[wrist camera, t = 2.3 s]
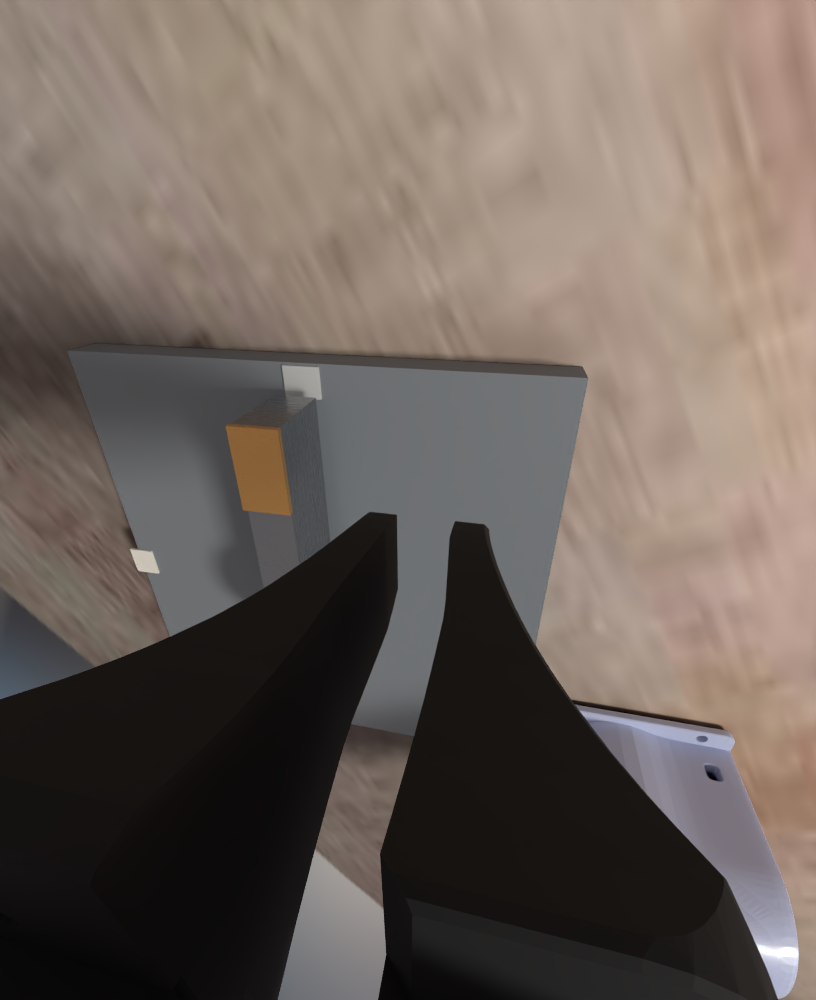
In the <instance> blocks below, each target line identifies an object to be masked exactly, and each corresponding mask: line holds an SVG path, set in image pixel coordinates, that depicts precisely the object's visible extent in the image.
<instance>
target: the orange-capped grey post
mask: <svg viewBox="0 0 816 1000" xmlns="http://www.w3.org/2000/svg"><path fill="white" fill-rule="evenodd" d="M226 431H227V436H228V441H229V446H230V450H231V455H232V460H233V465H234V469H235V474H236V479H237V484H238V489H239V493H240V498H241V503H242V508H243V510H245V511H248V513H249V518H250V523H251V528H252V533H253V538H254V542H255V547H256V552H257V557H258V562H259V567H260V572H261V577H262V582H263V587H264V588H265V587H266V586H268V585H270V584H271V583H273V582H274V581H276V580H277V579H279V578H280V577H282V576H283V575H285V574H286V573H288V572H289V571H291V570H292V569H293V568H295V567H296V566H298V565H299V564H301V563H302V562H304V561H305V560H307V559H308V558H310V557H311V556H312V555H314V554H315V553H316V552H318V551H319V550H320V549H322V548H323V547H324V546H326V545H327V544H328V543H330V533H329V523H328V513H327V503H326V493H325V484H324V474H323V464H322V454H321V444H320V434H319V425H318V415H317V405H316V398H312V397H296V396H281V395H273V396H272V397H270V398H269V399H267V400H266V401H264V402H263V403H261V404H260V405H258V406H257V407H255V408H254V409H252V410H251V411H249V412H248V413H246V414H245V415H243V416H242V417H240V418H238V419H237V420H235V421H234V422H232V423H231V424H228V425H226Z"/></svg>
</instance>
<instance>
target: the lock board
mask: <svg viewBox="0 0 816 1000" xmlns="http://www.w3.org/2000/svg"><path fill="white" fill-rule="evenodd" d="M67 353H68V355H69V358H70V361H71V364H72V367H73V369H74V372H75V375H76V378H77V380H78V383H79V386H80V389H81V391H82V394H83V397H84V400H85V403H86V405H87V408H88V411H89V414H90V416H91V419H92V422H93V425H94V428H95V430H96V433H97V436H98V439H99V441H100V444H101V447H102V450H103V452H104V455H105V458H106V461H107V464H108V466H109V469H110V472H111V475H112V477H113V480H114V483H115V486H116V488H117V491H118V494H119V497H120V500H121V502H122V505H123V508H124V511H125V513H126V516H127V519H128V522H129V524H130V527H131V530H132V533H133V536H134V538H135V541H136V544H137V547H138V549H136V548H131V549H130V550H131V553H132V556H133V558H134V561H135V564H136V566H137V569H138V571H143V572H147V574H148V577H149V580H150V583H151V585H152V588H153V591H154V594H155V597H156V599H157V602H158V605H159V608H160V610H161V613H162V616H163V619H164V621H165V624H166V627H167V630H168V633H169V635H170V636H173V635H175V634H177V633H179V632H181V631H183V630H185V629H188V628H190V627H192V626H194V625H196V624H198V623H200V622H202V621H205V620H207V619H209V618H211V617H213V616H215V615H217V614H219V613H221V612H223V611H224V610H226V609H228V608H230V607H232V606H233V605H235V604H237V603H239V602H241V601H243V600H244V599H246V598H248V597H250V596H251V595H253V594H255V593H256V592H258V591H260V590H261V589H263V588H264V587H263V582H262V577H261V572H260V567H259V562H258V557H257V552H256V547H255V542H254V538H253V533H252V528H251V523H250V518H249V513H248V511H245V510H243V508H242V503H241V498H240V493H239V489H238V484H237V479H236V474H235V469H234V465H233V460H232V455H231V450H230V446H229V441H228V436H227V431H226V425H228V424H231V423H232V422H234V421H235V420H237V419H238V418H240V417H242V416H243V415H245V414H246V413H248V412H249V411H251V410H252V409H254V408H255V407H257V406H258V405H260V404H261V403H263V402H264V401H266V400H267V399H269V398H270V397H272V396H273V395H281V396H296V397H312V398H316V405H317V415H318V425H319V434H320V444H321V454H322V464H323V474H324V484H325V493H326V503H327V513H328V523H329V533H330V542H331V541H332V540H334V539H335V538H336V537H337V536H339V535H340V534H341V533H343V532H344V531H345V530H346V529H348V528H349V527H350V526H352V525H353V524H354V523H355V522H357V521H358V520H359V519H361V518H362V517H363V516H364V515H366V514H367V513H369V512H377V513H386V514H396V515H397V550H398V591H397V595H396V599H395V603H394V607H393V611H392V615H391V619H390V623H389V627H388V630H387V633H386V635H385V638H384V641H383V643H382V646H381V648H380V651H379V654H378V656H377V659H376V661H375V664H374V666H373V669H372V672H371V674H370V677H369V679H368V682H367V684H366V687H365V689H364V692H363V694H362V697H361V700H360V702H359V705H358V707H357V710H356V712H355V715H354V717H353V720H352V723H351V724H352V725H357V726H362V727H368V728H373V729H378V730H383V731H388V732H393V733H399V734H404V735H409V736H414V735H415V731H416V727H417V723H418V720H419V716H420V712H421V708H422V705H423V701H424V697H425V693H426V689H427V685H428V681H429V677H430V673H431V669H432V665H433V660H434V656H435V652H436V648H437V643H438V639H439V635H440V630H441V626H442V622H443V616H444V609H445V601H446V586H447V570H448V554H449V539H450V534H451V531H452V528H453V525H454V523H455V521H459V522H469V523H478V524H485V525H486V527H487V528H488V529H489V535H490V541H491V545H492V549H493V553H494V556H495V559H496V562H497V565H498V568H499V571H500V573H501V576H502V578H503V581H504V583H505V585H506V588H507V590H508V593H509V595H510V597H511V599H512V602H513V604H514V606H515V608H516V610H517V612H518V614H519V616H520V618H521V620H522V622H523V624H524V626H525V627H526V629H527V631H528V633H529V635H530V637H531V638H532V640H533V642H534V644H535V645H536V640H537V635H538V629H539V624H540V619H541V614H542V609H543V604H544V599H545V594H546V589H547V584H548V579H549V574H550V569H551V564H552V559H553V554H554V549H555V544H556V539H557V533H558V528H559V523H560V518H561V513H562V508H563V503H564V498H565V493H566V488H567V483H568V478H569V473H570V468H571V463H572V458H573V453H574V448H575V443H576V437H577V432H578V427H579V422H580V417H581V412H582V407H583V402H584V397H585V392H586V387H587V382H588V377H587V375H586V373H585V371H584V369H583V367H574V366H554V365H533V364H513V363H492V362H472V361H451V360H430V359H410V358H389V357H369V356H348V355H328V354H307V353H287V352H266V351H246V350H225V349H205V348H184V347H163V346H143V345H122V344H102V343H95V344H91V345H87V346H83V347H79V348H75V349H71V350H67Z"/></svg>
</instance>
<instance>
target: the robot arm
mask: <svg viewBox="0 0 816 1000" xmlns="http://www.w3.org/2000/svg"><path fill="white" fill-rule="evenodd" d="M397 591H398V550H397V515H396V514H386V513H377V512H369V513H367V514H366V515H364V516H363V517H362V518H361V519H359V520H358V521H357V522H355V523H354V524H353V525H352V526H350V527H349V528H348V529H346V530H345V531H344V532H343V533H341V534H340V535H339V536H337V537H336V538H335V539H334V540H332V541H331V542H330V543H328V544H327V545H326V546H324V547H323V548H322V549H320V550H319V551H318V552H316V553H315V554H314V555H312V556H311V557H310V558H308V559H307V560H305V561H304V562H302V563H301V564H299V565H298V566H296V567H295V568H293V569H292V570H291V571H289V572H288V573H286V574H285V575H283V576H282V577H280V578H279V579H277V580H276V581H274V582H273V583H271V584H270V585H268V586H266V587H265V588H263V589H261V590H260V591H258V592H256V593H255V594H253V595H251V596H250V597H248V598H246V599H244V600H243V601H241V602H239V603H237V604H235V605H233V606H232V607H230V608H228V609H226V610H224V611H223V612H221V613H219V614H217V615H215V616H213V617H211V618H209V619H207V620H205V621H202V622H200V623H198V624H196V625H194V626H192V627H190V628H188V629H185V630H183V631H181V632H179V633H177V634H175V635H173V636H170V637H168V638H166V639H164V640H162V641H160V642H158V643H155V644H153V645H151V646H148V647H146V648H143V649H141V650H138V651H136V652H133V653H131V654H129V655H126V656H124V657H121V658H119V659H116V660H113V661H111V662H108V663H105V664H103V665H100V666H98V667H95V668H92V669H90V670H87V671H84V672H82V673H79V674H76V675H73V676H70V677H68V678H65V679H62V680H59V681H56V682H53V683H49V684H46V685H43V686H41V687H37V688H34V689H31V690H28V691H25V692H22V693H19V694H16V695H13V696H9V697H6V698H3V699H0V1000H278V996H279V991H280V987H281V983H282V978H283V975H284V971H285V967H286V962H287V958H288V954H289V950H290V946H291V942H292V937H293V933H294V929H295V925H296V920H297V917H298V913H299V909H300V905H301V901H302V897H303V893H304V889H305V886H306V882H307V878H308V874H309V870H310V866H311V862H312V858H313V854H314V851H315V847H316V843H317V840H318V836H319V832H320V828H321V825H322V821H323V817H324V814H325V810H326V806H327V803H328V799H329V795H330V792H331V788H332V785H333V781H334V778H335V774H336V771H337V767H338V764H339V760H340V757H341V753H342V750H343V746H344V743H345V740H346V737H347V734H348V731H349V728H350V726H351V723H352V720H353V717H354V715H355V712H356V710H357V707H358V705H359V702H360V700H361V697H362V694H363V692H364V689H365V687H366V684H367V682H368V679H369V677H370V674H371V672H372V669H373V666H374V664H375V661H376V659H377V656H378V654H379V651H380V648H381V646H382V643H383V641H384V638H385V635H386V633H387V630H388V627H389V623H390V619H391V615H392V611H393V607H394V603H395V599H396V595H397ZM734 744H735V740H734V738H733V736H732V734H731V733H730V732H728V731H725V730H720V729H715V728H709V727H703V726H697V725H691V724H685V723H680V722H674V721H668V720H662V719H656V718H650V717H645V716H639V715H633V714H627V713H621V712H615V711H609V710H604V709H598V708H592V707H586V706H580V705H575V704H574V703H573V702H572V700H571V699H570V698H569V696H568V695H567V693H566V692H565V690H564V689H563V687H562V686H561V684H560V683H559V681H558V680H557V679H556V677H555V676H554V674H553V673H552V671H551V670H550V668H549V666H548V665H547V663H546V662H545V660H544V658H543V657H542V655H541V654H540V652H539V650H538V649H537V647H536V645H535V644H534V642H533V640H532V638H531V637H530V635H529V633H528V631H527V629H526V627H525V626H524V624H523V622H522V620H521V618H520V616H519V614H518V612H517V610H516V608H515V606H514V604H513V602H512V599H511V597H510V595H509V593H508V590H507V588H506V585H505V583H504V581H503V578H502V576H501V573H500V571H499V568H498V565H497V562H496V559H495V556H494V553H493V549H492V545H491V541H490V535H489V529H488V528H487V527H486V525H485V524H478V523H469V522H459V521H455V523H454V525H453V528H452V531H451V534H450V539H449V554H448V570H447V586H446V601H445V609H444V616H443V622H442V626H441V630H440V635H439V639H438V643H437V648H436V652H435V656H434V660H433V665H432V669H431V673H430V677H429V681H428V685H427V689H426V693H425V697H424V701H423V705H422V708H421V712H420V716H419V720H418V723H417V727H416V731H415V735H414V739H413V742H412V746H411V750H410V753H409V757H408V760H407V764H406V767H405V771H404V774H403V778H402V781H401V785H400V788H399V792H398V795H397V799H396V802H395V806H394V809H393V813H392V816H391V819H390V823H389V826H388V829H387V833H386V836H385V839H384V843H383V846H382V849H381V853H380V858H381V874H382V891H383V907H384V923H385V939H386V960H385V965H384V971H383V977H382V982H381V987H380V993H379V998H378V1000H778V999H780V998H783V997H785V996H787V995H788V993H789V992H790V991H791V989H792V987H793V985H794V982H795V979H796V975H797V970H798V961H799V951H798V939H797V932H796V926H795V921H794V915H793V911H792V907H791V903H790V899H789V896H788V893H787V890H786V886H785V884H784V881H783V878H782V876H781V873H780V871H779V868H778V866H777V863H776V861H775V859H774V856H773V854H772V851H771V849H770V847H769V844H768V842H767V839H766V837H765V834H764V832H763V830H762V827H761V825H760V822H759V820H758V818H757V815H756V813H755V810H754V808H753V806H752V803H751V801H750V798H749V796H748V793H747V791H746V789H745V786H744V784H743V781H742V779H741V777H740V774H739V772H738V769H737V767H736V764H735V762H734V760H733V757H732V755H731V752H730V750H731V749H732V747H733V745H734Z"/></svg>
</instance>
